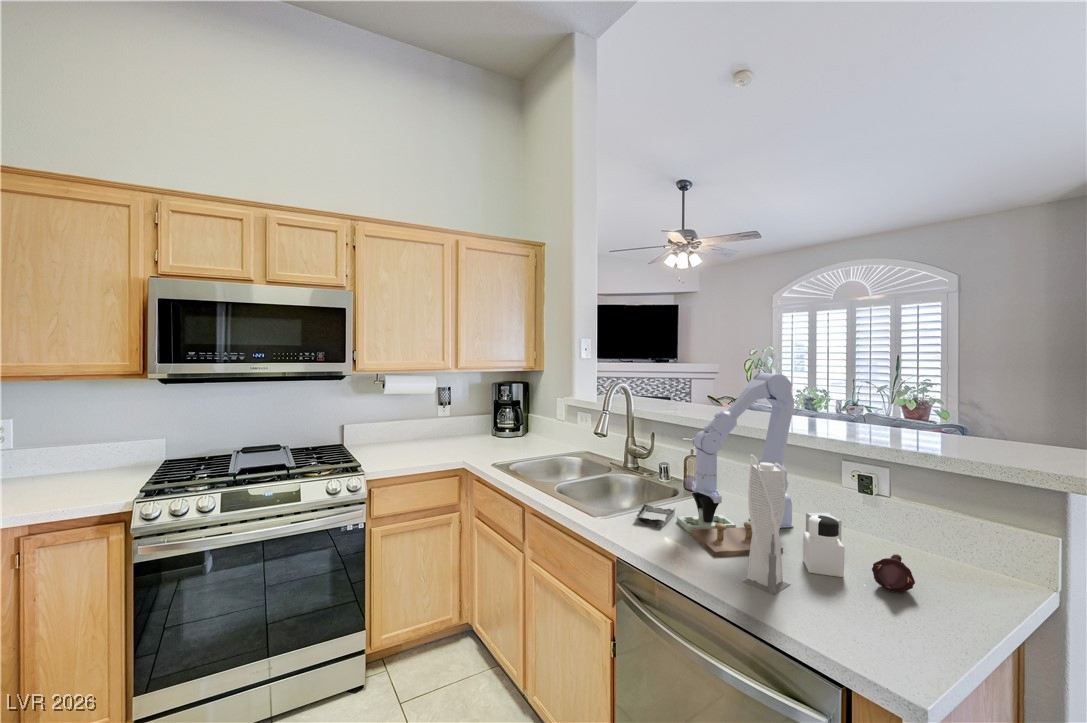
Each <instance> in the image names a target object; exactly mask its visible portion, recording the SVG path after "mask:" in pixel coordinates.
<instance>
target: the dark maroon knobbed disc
mask: <svg viewBox="0 0 1087 723" xmlns="http://www.w3.org/2000/svg"><path fill="white" fill-rule="evenodd" d="M871 571H872V573H873V579H874V581H875V582H876V583H877V584H878V585H879V586H881V587H882V588H883V589H884V590H886V591H887V590H889V591H888V592H892V591H893V593H896V592H898V593H897V594H901V593H902V594H904V593H906V592H908V591H909V590H912V589H913V588H914V585H915V584H916V580H915V577H914V576H913V572H912V571H911V569H910V568H909V567H908V566H906V564H905V562H903V561H902V556H901V555H900V554H898V553H897V554H892V556H890V558H889V557H888V558H887V557H886V558H882V559H879V560H878V561H876V562H874V563H873V564H872V567H871Z"/></svg>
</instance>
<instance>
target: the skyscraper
mask: <svg viewBox="0 0 1087 723" xmlns="http://www.w3.org/2000/svg"><path fill="white" fill-rule="evenodd" d="M749 459H750V460H749V461H750V468H749V478H748V494H747V495H748V514H749V517H750V520H749V522H751V528H752V539H751V546H750V555H749V557H748V566H747V578H746V579H744V580H743V581H742V583H744V584H747V585H750V586H751V587H754V588H756V589H759V590H761V591H763V592H766V593H769V594H770V595H773V596H775V595H777V594H778V593H780V592H782V591H783V590H785V589H786V588H788V587H790V586H791V584H790V583H788V582H785V581H784V578H783V577H784V576H783V574H784V573H783V561H782V560H783V559H782V553H781V541H780V535H779V532H780V526H781V522H782V518H783V513H784V507H785V493H786V492H785V471H784V468H783V467H782V466H781V465H780V464H778V463H775V464H772V463H766V462H762V463H760V465H759V464H758V461H759V460H758V459H757V457H756V456H755V455H754V454H753V453H751V454H750V455H749ZM753 459H754V461H755V464H753ZM777 465H778V466H779V467H780V468H781V469H782V470H781V469H780V468H778V467H777Z"/></svg>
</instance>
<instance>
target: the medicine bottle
mask: <svg viewBox="0 0 1087 723" xmlns="http://www.w3.org/2000/svg"><path fill="white" fill-rule="evenodd" d="M802 535H803V537H802V540H803V543H802V560H803V563H804V565H805V567H806V569H807V572H808V573H809V574H815V575H822V576H830V577H838V578H844V577H845V549H846V548H845V546H844V545H843V543H842V540H841V541H840V540H839V523H838V522H837V521H836V520H835V519H833V518H831V517H828V516H822V515H815V516H811V517H810V518H809V532H806V531H803V534H802Z"/></svg>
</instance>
